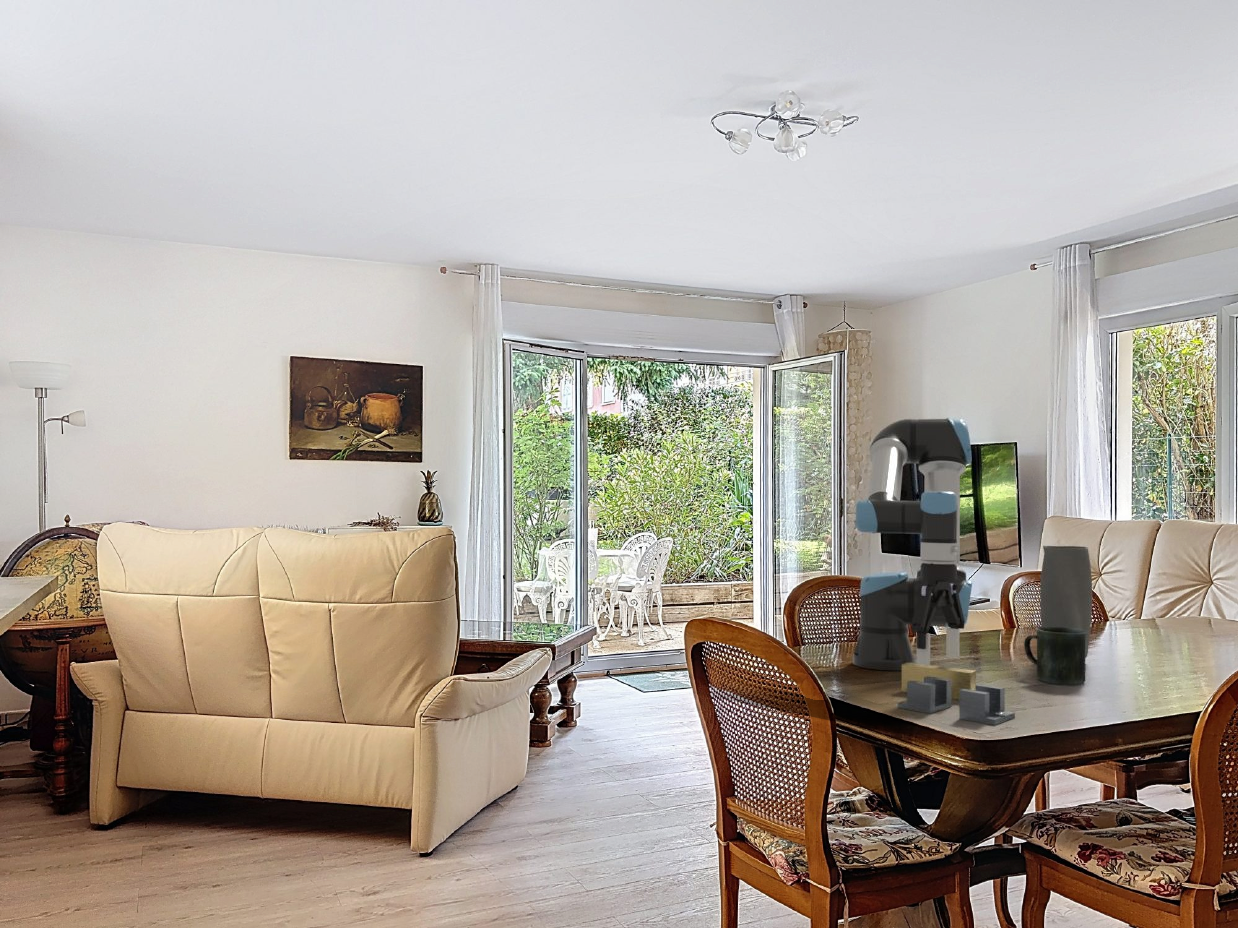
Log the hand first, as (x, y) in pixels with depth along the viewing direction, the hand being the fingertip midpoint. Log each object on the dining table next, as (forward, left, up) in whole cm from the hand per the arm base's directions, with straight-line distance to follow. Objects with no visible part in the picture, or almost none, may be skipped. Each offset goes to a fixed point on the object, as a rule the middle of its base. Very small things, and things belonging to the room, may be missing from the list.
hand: (938, 661), depth 211 cm
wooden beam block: (0, 0, -7) cm, 7 cm away
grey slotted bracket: (+5, -14, -7) cm, 16 cm away
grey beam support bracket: (+16, -14, -7) cm, 22 cm away
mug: (+11, +36, -7) cm, 39 cm away
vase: (+4, +63, -7) cm, 64 cm away
